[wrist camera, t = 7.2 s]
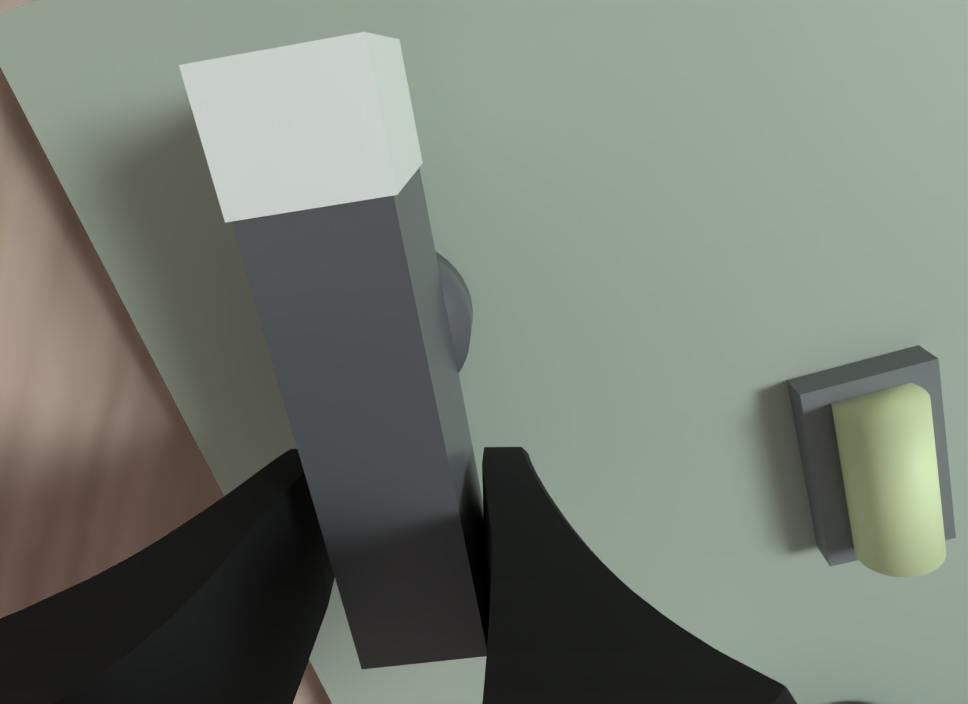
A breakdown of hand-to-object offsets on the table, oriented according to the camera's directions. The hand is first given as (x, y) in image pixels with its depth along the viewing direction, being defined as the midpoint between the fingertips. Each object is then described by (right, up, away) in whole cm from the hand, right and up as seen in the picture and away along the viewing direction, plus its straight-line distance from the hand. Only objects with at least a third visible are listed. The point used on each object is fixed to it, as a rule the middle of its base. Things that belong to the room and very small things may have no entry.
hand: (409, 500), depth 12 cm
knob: (0, +3, 0) cm, 3 cm away
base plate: (+4, -1, +3) cm, 5 cm away
